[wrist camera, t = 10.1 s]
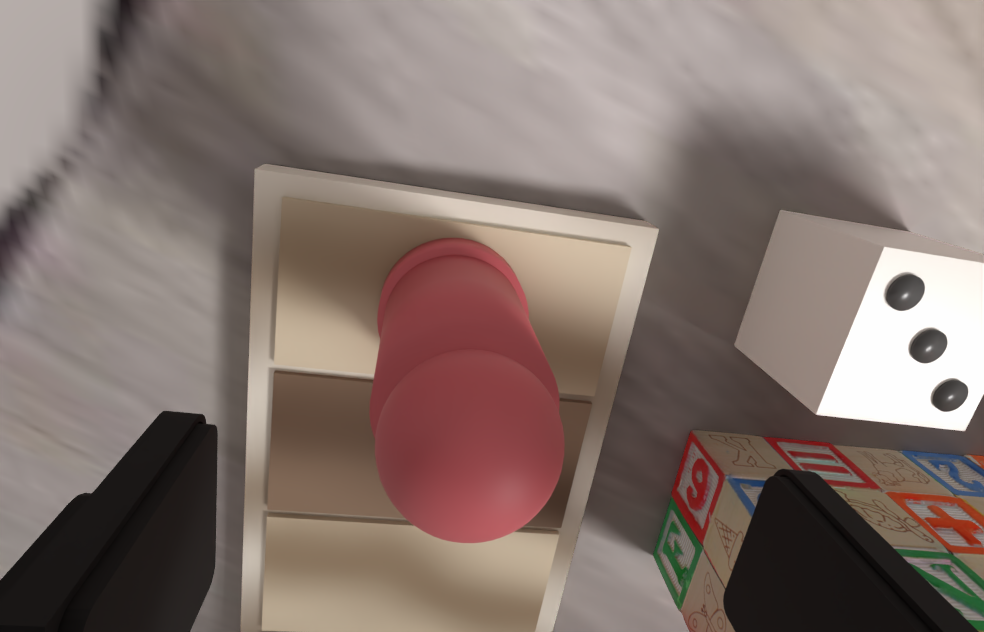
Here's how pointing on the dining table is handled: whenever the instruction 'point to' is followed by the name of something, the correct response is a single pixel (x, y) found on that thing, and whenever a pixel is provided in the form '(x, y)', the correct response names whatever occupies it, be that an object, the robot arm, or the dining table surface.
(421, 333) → the pawn
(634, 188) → the dining table surface
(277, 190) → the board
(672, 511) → the stack of blocks
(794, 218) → the die
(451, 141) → the dining table surface
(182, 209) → the dining table surface
